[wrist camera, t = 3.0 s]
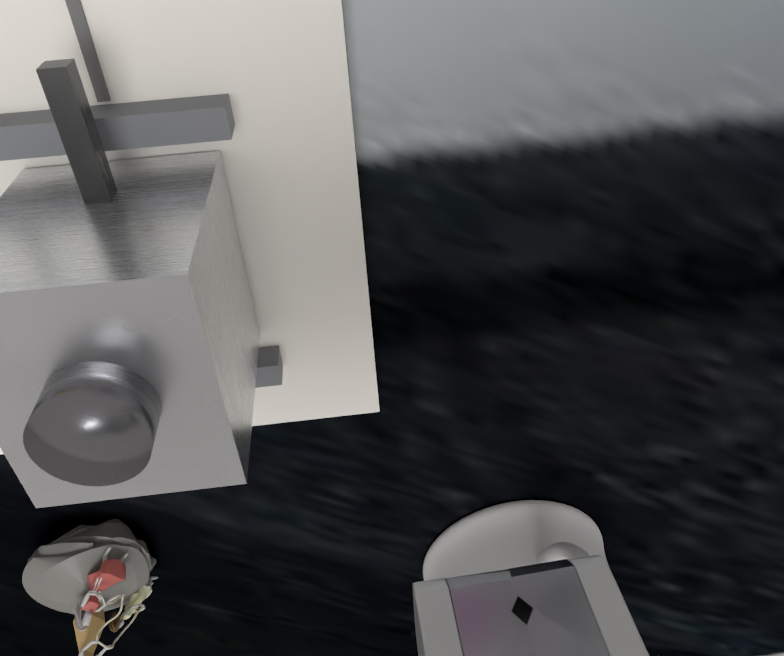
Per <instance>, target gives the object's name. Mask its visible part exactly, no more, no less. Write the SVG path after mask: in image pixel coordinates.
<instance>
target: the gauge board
mask: <svg viewBox="0 0 784 656" xmlns="http://www.w3.org/2000/svg"><path fill="white" fill-rule="evenodd" d="M62 59H75V62H76V65H77V69H78V72H79V75H80V78H81V81H82V84H83V87H84V90H85V93H86V96H87V99H88V102H89V105H90V108H91V111H92V114H93V117H94V120H95V124H96V127H97V130H98V133H99V136H100V139H101V142H102V145H103V148H104V151H105V154H106V157H107V160H108V161H116V160H126V159H137V158H148V157H159V156H169V155H180V154H191V153H202V152H212V151H220V154H221V159H222V163H223V168H224V172H225V177H226V181H227V186H228V190H229V195H230V200H231V204H232V209H233V213H234V218H235V222H236V227H237V231H238V236H239V241H240V245H241V250H242V254H243V259H244V263H245V268H246V272H247V277H248V282H249V286H250V291H251V295H252V300H253V304H254V309H255V314H256V318H257V323H258V327H259V332H260V340H259V351H258V362H257V373H256V385H255V396H254V407H253V418H252V426H258V425H266V424H275V423H284V422H293V421H302V420H311V419H320V418H329V417H338V416H346V415H355V414H364V413H373V412H380V410H379V399H378V388H377V378H376V367H375V356H374V345H373V334H372V324H371V313H370V302H369V291H368V281H367V270H366V259H365V248H364V237H363V227H362V216H361V205H360V194H359V183H358V173H357V162H356V151H355V140H354V130H353V119H352V108H351V97H350V86H349V76H348V65H347V54H346V43H345V33H344V22H343V11H342V0H0V197H1V195H2V194H3V193H4V192H5V191H6V189H7V188H8V187H9V186H10V184H11V183H12V182H13V181H14V180H15V178H16V177H17V176H18V175H19V173H20V172H21V171H22V170H23V169H29V168H40V167H51V166H62V165H70V162H69V160H68V157H67V154H66V151H65V149H64V146H63V143H62V140H61V138H60V135H59V132H58V129H57V127H56V124H55V121H54V118H53V116H52V113H51V110H50V107H49V105H48V102H47V99H46V96H45V94H44V91H43V88H42V85H41V83H40V80H39V77H38V74H37V72H36V69H37V68H38V67H39V66H40V65H41V64H42V63H43V62H44V61H51V60H62ZM0 454H4V453H3V451H2V450H1V448H0Z"/></svg>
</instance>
